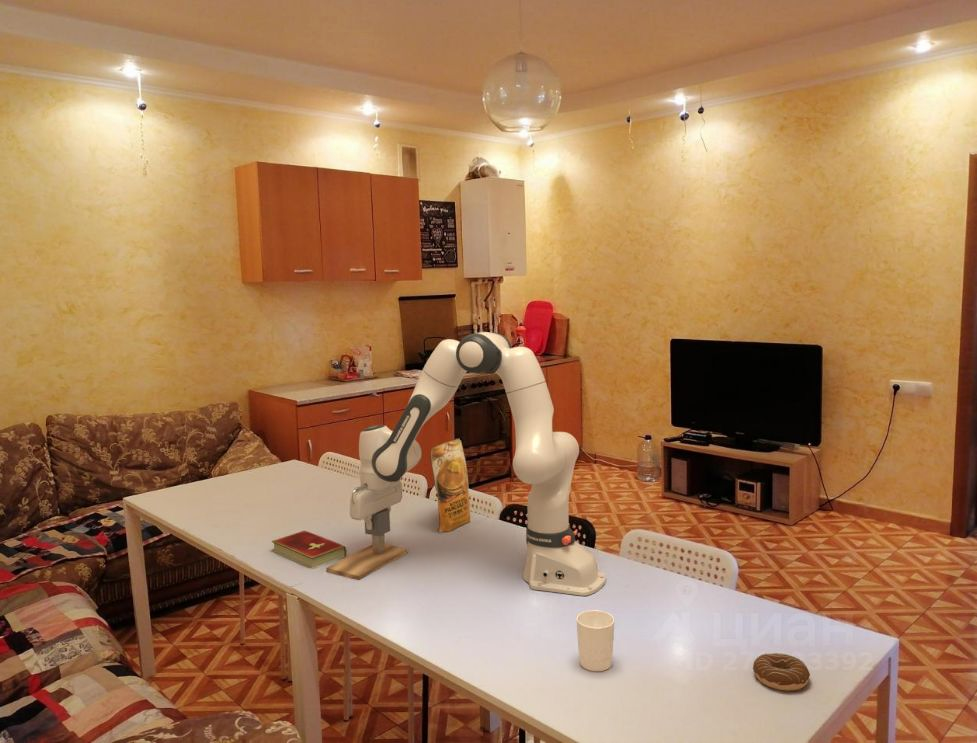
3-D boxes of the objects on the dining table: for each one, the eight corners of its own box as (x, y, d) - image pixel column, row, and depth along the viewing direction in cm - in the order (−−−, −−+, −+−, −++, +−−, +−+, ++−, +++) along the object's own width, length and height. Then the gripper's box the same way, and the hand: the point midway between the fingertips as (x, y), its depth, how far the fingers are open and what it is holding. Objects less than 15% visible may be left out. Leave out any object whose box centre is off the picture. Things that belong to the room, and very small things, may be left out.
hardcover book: (306, 541, 229) (305, 529, 228) (346, 558, 215) (346, 544, 214) (272, 553, 220) (271, 540, 220) (312, 571, 206) (311, 556, 206)
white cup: (610, 652, 157) (610, 609, 156) (618, 672, 149) (617, 627, 148) (574, 654, 157) (573, 610, 156) (580, 674, 149) (579, 628, 148)
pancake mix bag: (426, 532, 234) (422, 447, 230) (462, 515, 249) (460, 435, 245) (442, 536, 230) (439, 450, 226) (478, 518, 245) (475, 438, 241)
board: (407, 552, 217) (407, 548, 216) (359, 580, 198) (358, 576, 198) (376, 545, 223) (376, 542, 223) (326, 571, 204) (326, 567, 204)
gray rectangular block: (390, 530, 215) (389, 509, 214) (379, 536, 210) (378, 514, 209) (376, 528, 217) (375, 506, 216) (365, 533, 213) (364, 511, 212)
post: (385, 551, 215) (384, 533, 214) (379, 554, 213) (378, 536, 212) (378, 549, 216) (377, 532, 215) (372, 552, 214) (372, 535, 213)
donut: (789, 701, 138) (790, 682, 138) (741, 677, 147) (742, 659, 146) (820, 682, 145) (820, 663, 144) (772, 660, 153) (772, 642, 152)
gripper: (360, 490, 201) (362, 538, 203) (405, 472, 218) (406, 516, 220) (343, 487, 204) (345, 534, 206) (388, 470, 222) (390, 513, 224)
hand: (377, 525), depth 213 cm, fingers closed on gray rectangular block, 5 cm apart
